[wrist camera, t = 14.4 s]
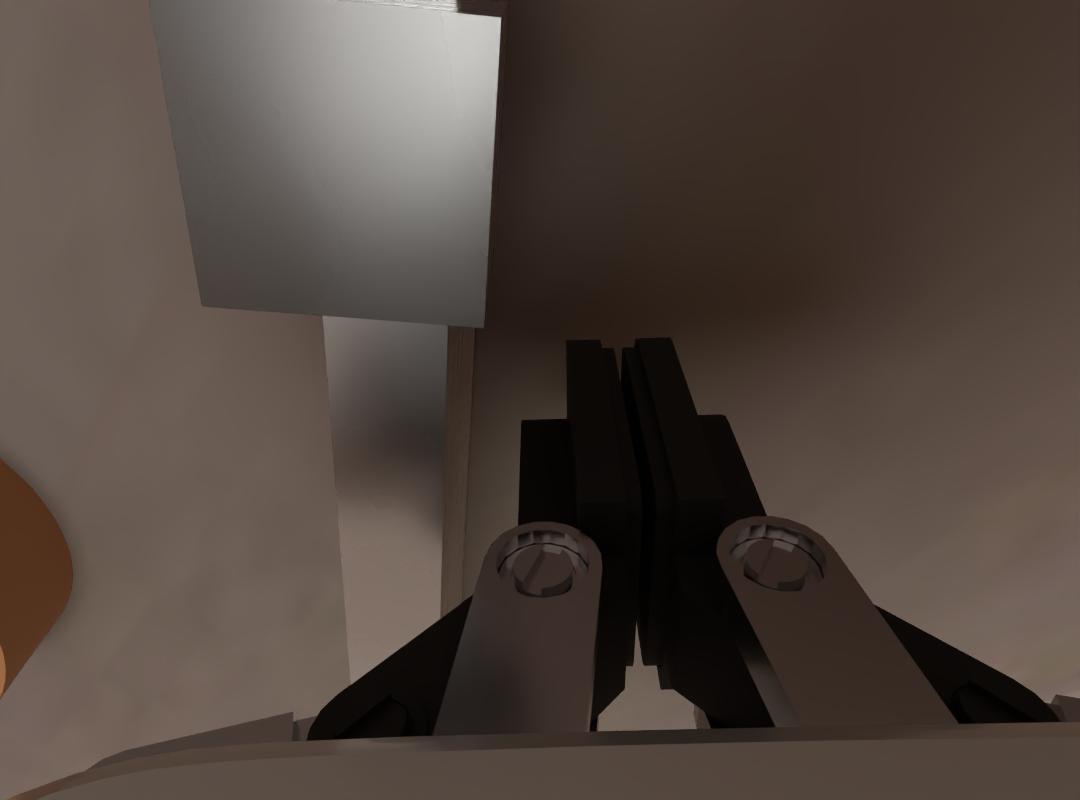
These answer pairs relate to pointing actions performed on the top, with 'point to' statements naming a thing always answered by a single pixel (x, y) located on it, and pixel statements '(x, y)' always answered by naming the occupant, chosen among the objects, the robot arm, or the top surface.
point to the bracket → (28, 573)
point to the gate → (356, 247)
